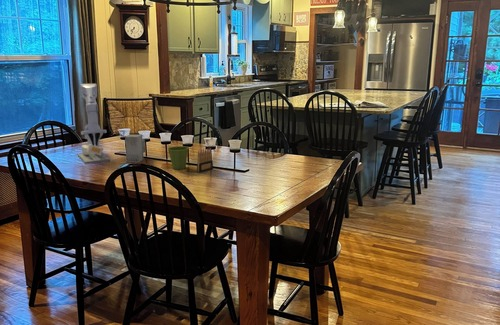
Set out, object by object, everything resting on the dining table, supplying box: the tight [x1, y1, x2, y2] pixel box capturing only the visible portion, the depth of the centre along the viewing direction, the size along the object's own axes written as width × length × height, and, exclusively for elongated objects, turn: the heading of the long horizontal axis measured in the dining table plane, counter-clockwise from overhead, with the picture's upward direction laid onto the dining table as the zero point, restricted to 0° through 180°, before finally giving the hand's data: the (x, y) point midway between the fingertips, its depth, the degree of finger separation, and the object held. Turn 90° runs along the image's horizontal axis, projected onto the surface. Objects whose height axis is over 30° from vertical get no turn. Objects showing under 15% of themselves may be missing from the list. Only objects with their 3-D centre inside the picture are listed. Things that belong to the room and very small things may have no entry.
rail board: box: [77, 144, 111, 165], centre depth 277 cm, size 26×14×6 cm, turn 29°
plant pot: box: [167, 145, 190, 170], centre depth 250 cm, size 12×12×11 cm
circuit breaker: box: [124, 133, 146, 163], centre depth 272 cm, size 8×14×15 cm, turn 174°
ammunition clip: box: [196, 147, 214, 174], centre depth 244 cm, size 11×2×12 cm, turn 142°
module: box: [86, 144, 104, 156], centre depth 276 cm, size 5×8×4 cm, turn 119°
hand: (94, 145), depth 275 cm, fingers closed
